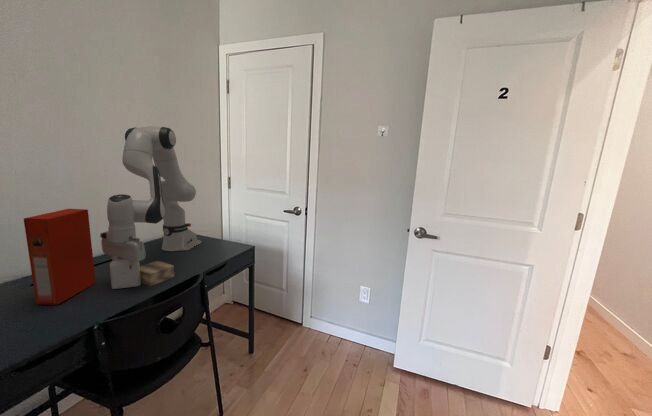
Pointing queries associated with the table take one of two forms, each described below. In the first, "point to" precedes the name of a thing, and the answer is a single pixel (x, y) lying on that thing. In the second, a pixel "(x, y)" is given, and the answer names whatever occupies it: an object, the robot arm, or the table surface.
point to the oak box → (156, 272)
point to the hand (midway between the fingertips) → (124, 267)
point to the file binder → (60, 254)
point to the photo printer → (124, 274)
